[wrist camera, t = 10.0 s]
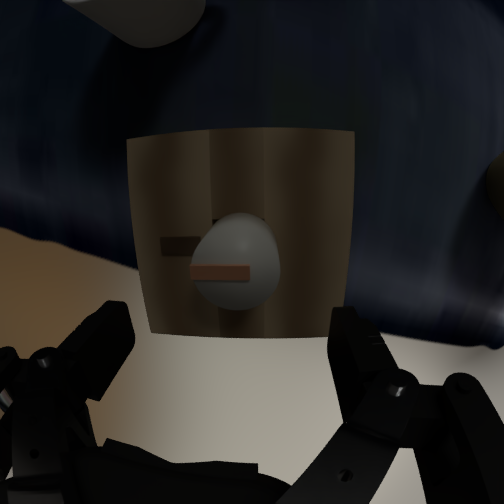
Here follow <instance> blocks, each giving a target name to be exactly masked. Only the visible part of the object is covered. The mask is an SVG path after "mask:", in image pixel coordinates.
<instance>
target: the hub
mask: <svg viewBox="0 0 504 504" xmlns="http://www.w3.org/2000/svg"><path fill="white" fill-rule="evenodd" d="M354 157H355V144H354V132H351V131H340V130H326V129H309V128H229V129H212V130H198V131H187V132H177V133H168V134H160V135H153V136H146V137H139V138H133V139H127V163H128V182H129V195H130V207H131V217H132V226H133V234H134V242H135V249H136V256H137V263H138V269H139V275H140V281H141V286H142V291H143V297H144V302H145V307H146V311H147V317H148V321H149V326H150V330H151V333H158V334H171V335H183V336H199V337H223V338H312V337H328V335H329V328H330V320H331V313H332V309H333V307H343V303H344V296H345V288H346V280H347V272H348V263H349V253H350V242H351V230H352V215H353V196H354ZM233 213H247V214H252V215H255V216H257V217H259V218H260V219H264V222H266V223H267V224H268V225H269V227H270V228H271V229H272V231H273V233H274V235H275V238H276V242H277V248H278V255H279V261H280V278H279V282H278V285H277V287H276V289H275V291H274V292H273V294H272V295H271V296H270V297H269V298H268V299H267V300H266V301H265V302H263V303H262V304H260V305H258V306H256V307H254V308H251V309H247V310H229V309H224V308H221V307H219V306H216V305H214V304H213V303H211V302H210V301H208V300H207V299H206V298H205V297H204V296H203V295H202V294H201V293H200V292H199V290H198V289H197V287H196V285H195V283H194V281H193V280H191V276H190V267H189V266H190V264H191V262H192V257H193V254H194V251H195V249H196V248H197V246H198V244H199V243H200V242H201V240H202V239H203V238H204V236H205V235H206V234H207V233H208V231H209V230H210V229H211V227H212V226H213V225H214V224H215V223H216V222H217V221H218V220H219V219H221V218H223V217H224V216H227V215H229V214H233Z"/></svg>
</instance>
